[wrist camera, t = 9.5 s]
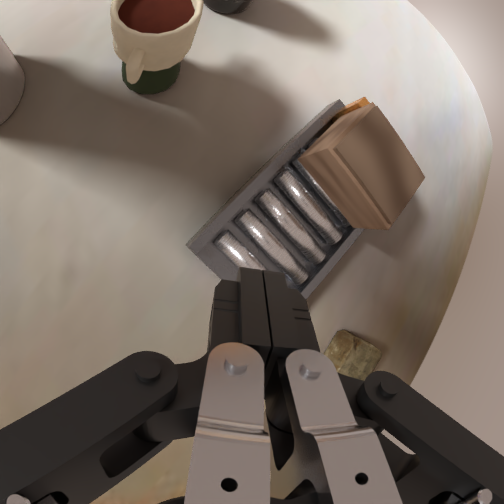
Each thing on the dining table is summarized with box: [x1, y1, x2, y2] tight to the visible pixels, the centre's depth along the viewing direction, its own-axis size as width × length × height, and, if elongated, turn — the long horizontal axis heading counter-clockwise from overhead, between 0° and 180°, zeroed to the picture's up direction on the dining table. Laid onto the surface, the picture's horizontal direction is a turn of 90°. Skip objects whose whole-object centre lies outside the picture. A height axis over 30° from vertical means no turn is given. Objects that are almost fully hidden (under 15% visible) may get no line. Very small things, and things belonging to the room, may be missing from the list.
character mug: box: [110, 0, 204, 94], centre depth 24 cm, size 11×7×13 cm, turn 165°
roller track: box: [186, 97, 370, 299], centre depth 33 cm, size 24×13×7 cm, turn 134°
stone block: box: [324, 330, 382, 381], centre depth 38 cm, size 6×12×5 cm, turn 147°
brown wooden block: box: [297, 102, 425, 230], centre depth 31 cm, size 8×10×7 cm
